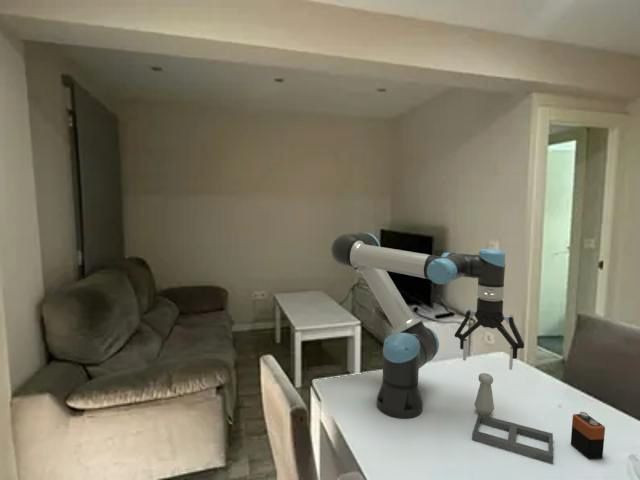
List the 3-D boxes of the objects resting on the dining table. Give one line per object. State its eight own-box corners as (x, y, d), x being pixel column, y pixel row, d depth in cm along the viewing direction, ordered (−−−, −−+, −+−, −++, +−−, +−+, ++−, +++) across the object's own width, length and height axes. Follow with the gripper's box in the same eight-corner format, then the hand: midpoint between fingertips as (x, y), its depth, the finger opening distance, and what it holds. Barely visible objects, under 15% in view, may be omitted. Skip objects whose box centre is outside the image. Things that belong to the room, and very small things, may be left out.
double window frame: (471, 439, 111) (472, 433, 111) (478, 419, 121) (478, 413, 121) (552, 464, 101) (553, 457, 101) (552, 440, 111) (552, 433, 111)
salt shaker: (495, 419, 122) (497, 379, 120) (476, 417, 123) (478, 378, 121) (491, 409, 127) (493, 371, 126) (472, 407, 128) (474, 370, 127)
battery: (583, 443, 110) (586, 410, 109) (603, 459, 103) (606, 423, 102) (569, 444, 109) (572, 410, 108) (588, 459, 103) (591, 424, 102)
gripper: (446, 295, 124) (444, 359, 126) (535, 306, 112) (531, 376, 114) (451, 291, 131) (449, 351, 133) (535, 301, 118) (531, 367, 120)
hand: (487, 363), depth 123 cm, fingers open, 13 cm apart
